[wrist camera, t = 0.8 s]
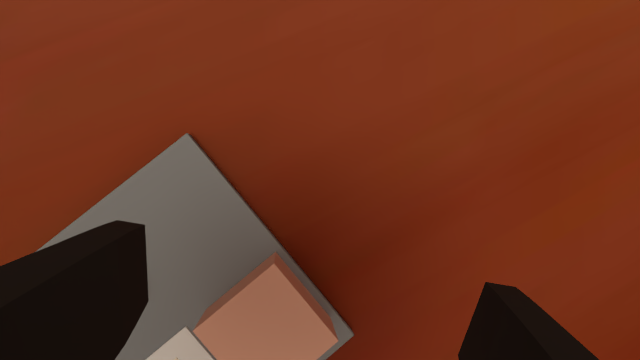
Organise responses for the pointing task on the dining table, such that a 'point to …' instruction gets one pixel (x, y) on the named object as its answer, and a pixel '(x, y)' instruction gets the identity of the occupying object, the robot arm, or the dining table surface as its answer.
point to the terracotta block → (267, 318)
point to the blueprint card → (182, 348)
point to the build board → (190, 243)
